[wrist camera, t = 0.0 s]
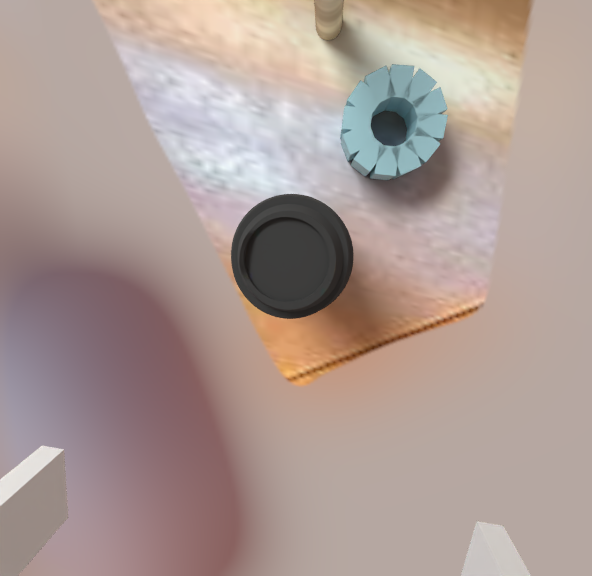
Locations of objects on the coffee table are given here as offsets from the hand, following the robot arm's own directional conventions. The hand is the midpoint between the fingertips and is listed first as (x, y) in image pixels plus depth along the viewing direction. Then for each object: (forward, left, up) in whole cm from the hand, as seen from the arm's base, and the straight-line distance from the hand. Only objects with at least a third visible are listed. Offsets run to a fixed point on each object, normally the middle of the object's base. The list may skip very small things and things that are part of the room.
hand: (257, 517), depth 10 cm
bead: (-18, +6, -28) cm, 34 cm away
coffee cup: (-6, -1, -28) cm, 29 cm away
